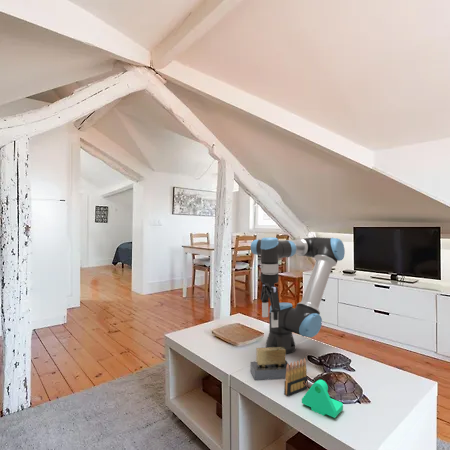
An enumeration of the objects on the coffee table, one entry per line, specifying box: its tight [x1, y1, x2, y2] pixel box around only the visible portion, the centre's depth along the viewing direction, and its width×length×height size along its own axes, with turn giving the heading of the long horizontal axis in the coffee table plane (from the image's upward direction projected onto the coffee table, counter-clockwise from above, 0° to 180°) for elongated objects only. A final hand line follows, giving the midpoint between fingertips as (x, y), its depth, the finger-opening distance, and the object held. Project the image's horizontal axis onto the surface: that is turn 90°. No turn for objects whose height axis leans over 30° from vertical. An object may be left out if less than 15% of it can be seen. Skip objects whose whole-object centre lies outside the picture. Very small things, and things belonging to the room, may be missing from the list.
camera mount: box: [301, 379, 344, 419], centre depth 107 cm, size 12×8×10 cm, turn 47°
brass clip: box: [255, 347, 287, 368], centre depth 130 cm, size 12×3×11 cm, turn 98°
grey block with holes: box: [250, 359, 290, 381], centre depth 130 cm, size 16×8×4 cm, turn 98°
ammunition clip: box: [283, 357, 309, 398], centre depth 117 cm, size 11×2×12 cm, turn 122°
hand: (269, 321), depth 133 cm, fingers open, 13 cm apart
